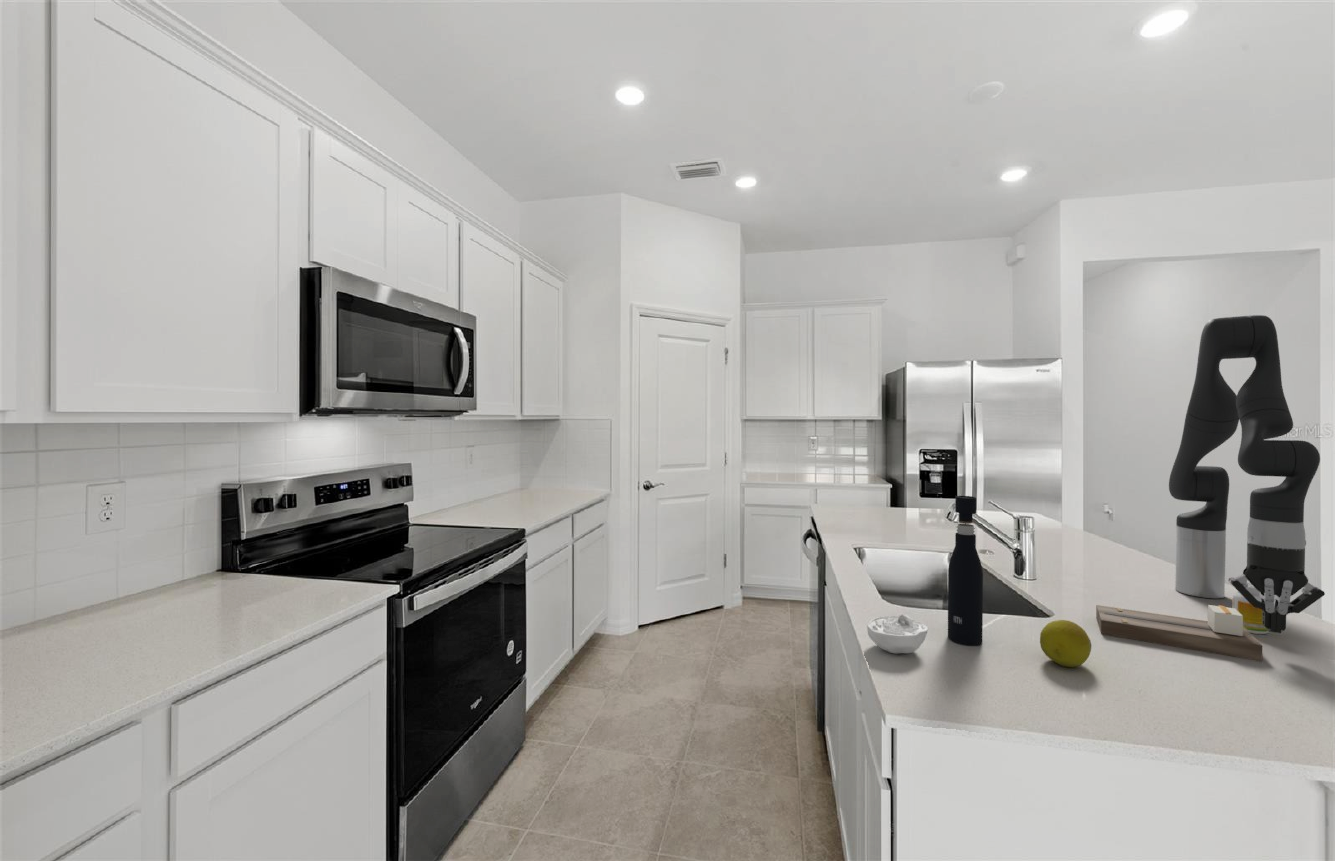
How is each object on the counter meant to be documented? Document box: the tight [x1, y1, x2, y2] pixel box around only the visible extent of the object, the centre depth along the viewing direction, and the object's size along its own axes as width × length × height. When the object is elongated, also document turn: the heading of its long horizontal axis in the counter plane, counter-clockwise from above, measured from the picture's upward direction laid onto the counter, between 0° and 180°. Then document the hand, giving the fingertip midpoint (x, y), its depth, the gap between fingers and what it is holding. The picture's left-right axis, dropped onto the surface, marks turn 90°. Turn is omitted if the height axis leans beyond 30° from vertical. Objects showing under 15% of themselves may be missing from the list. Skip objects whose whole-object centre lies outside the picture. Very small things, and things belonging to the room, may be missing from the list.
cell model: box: [866, 614, 929, 654], centre depth 110 cm, size 10×12×7 cm
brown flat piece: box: [1095, 604, 1263, 662], centre depth 115 cm, size 11×24×3 cm, turn 56°
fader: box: [1207, 604, 1243, 636], centre depth 110 cm, size 5×4×4 cm
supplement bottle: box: [1231, 582, 1269, 635], centre depth 118 cm, size 5×5×10 cm
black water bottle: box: [947, 495, 984, 647], centre depth 114 cm, size 6×6×30 cm
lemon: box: [1039, 619, 1092, 668], centre depth 103 cm, size 11×8×8 cm
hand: (1273, 631), depth 106 cm, fingers closed
